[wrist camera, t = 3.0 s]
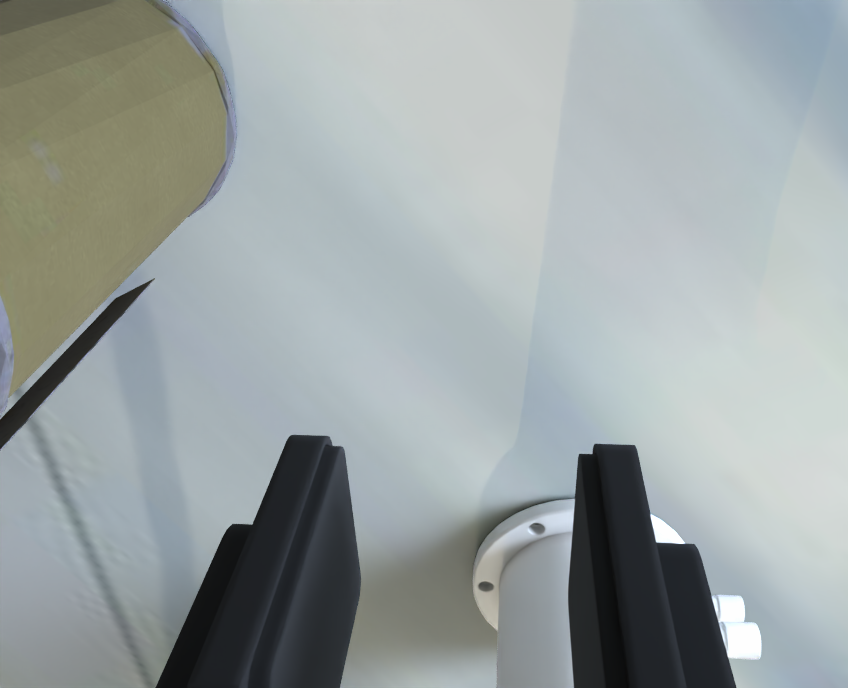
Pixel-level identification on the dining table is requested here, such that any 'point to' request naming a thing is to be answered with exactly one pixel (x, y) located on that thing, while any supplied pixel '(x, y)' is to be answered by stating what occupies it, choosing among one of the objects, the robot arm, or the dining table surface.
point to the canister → (94, 169)
